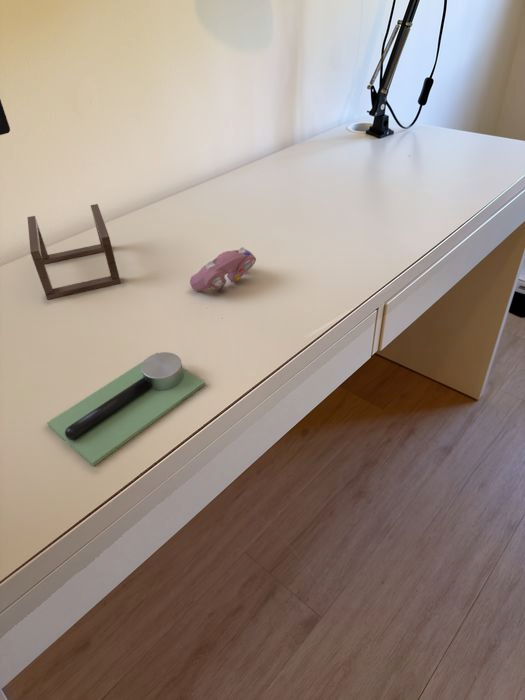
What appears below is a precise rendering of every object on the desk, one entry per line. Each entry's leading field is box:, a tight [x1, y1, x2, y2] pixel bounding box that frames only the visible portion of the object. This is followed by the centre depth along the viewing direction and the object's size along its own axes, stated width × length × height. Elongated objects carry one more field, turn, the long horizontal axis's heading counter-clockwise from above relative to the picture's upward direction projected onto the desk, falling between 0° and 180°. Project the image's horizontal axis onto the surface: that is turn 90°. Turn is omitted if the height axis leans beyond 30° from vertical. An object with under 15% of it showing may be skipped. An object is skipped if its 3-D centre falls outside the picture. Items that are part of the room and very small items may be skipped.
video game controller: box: [189, 246, 257, 292], centre depth 79 cm, size 10×5×7 cm, turn 131°
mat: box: [46, 352, 206, 467], centre depth 61 cm, size 16×9×1 cm, turn 138°
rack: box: [27, 203, 121, 300], centre depth 84 cm, size 11×13×8 cm
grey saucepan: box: [65, 351, 184, 440], centre depth 61 cm, size 16×5×2 cm, turn 138°
